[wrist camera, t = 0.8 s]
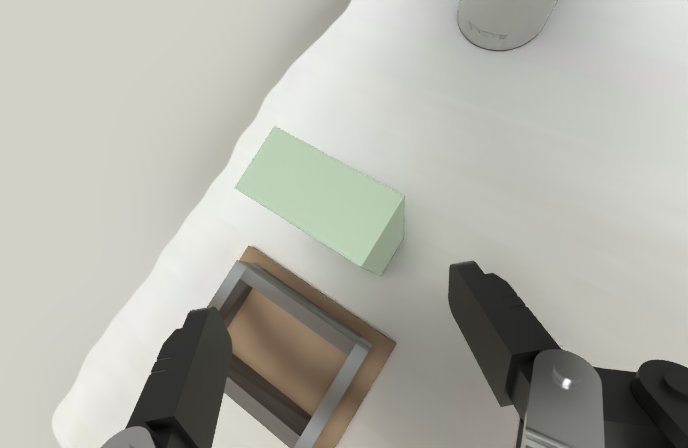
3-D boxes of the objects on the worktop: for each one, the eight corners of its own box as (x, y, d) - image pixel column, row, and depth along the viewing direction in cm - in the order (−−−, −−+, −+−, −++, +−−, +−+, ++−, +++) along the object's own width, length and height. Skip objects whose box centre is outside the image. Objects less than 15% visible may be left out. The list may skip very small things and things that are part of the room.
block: (331, 195, 35) (274, 125, 20) (403, 237, 33) (404, 196, 18) (309, 231, 35) (234, 188, 19) (381, 275, 33) (360, 267, 17)
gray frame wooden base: (253, 247, 36) (228, 240, 31) (395, 343, 31) (394, 354, 26) (192, 341, 35) (157, 351, 30) (329, 454, 30) (315, 487, 25)
